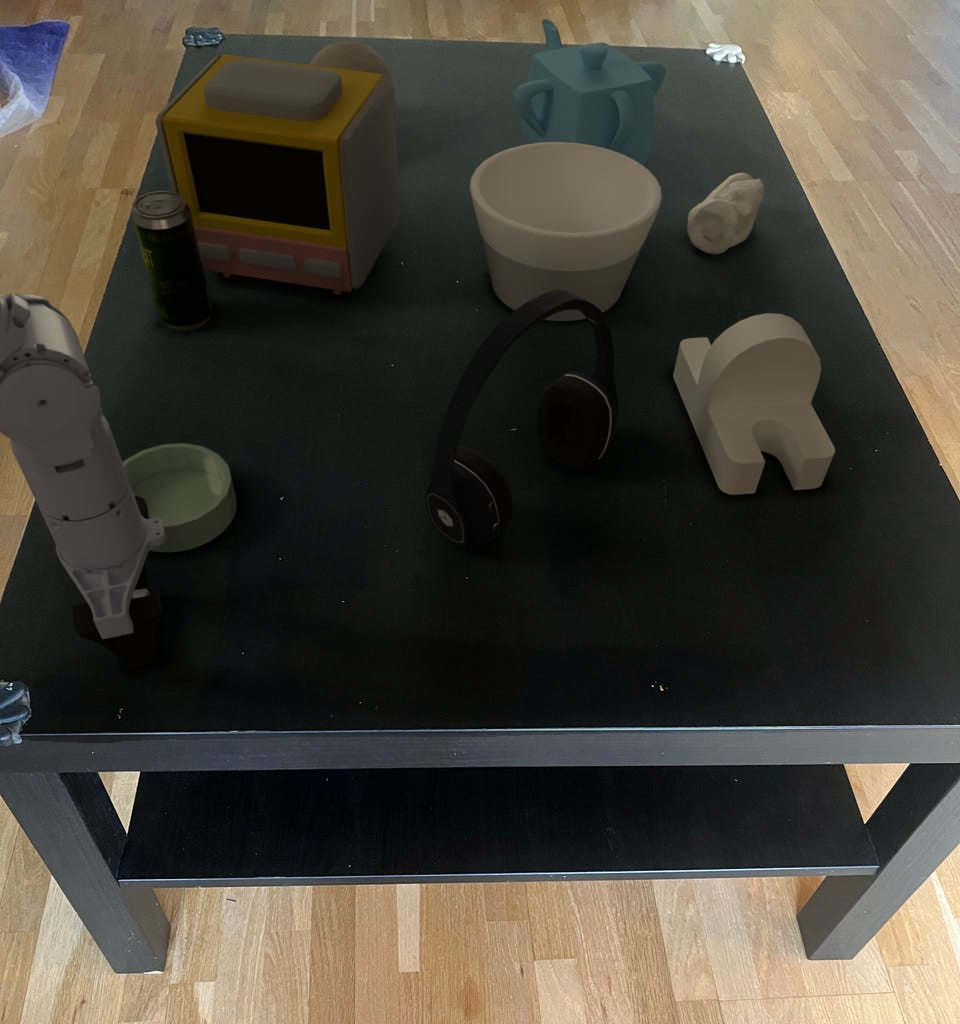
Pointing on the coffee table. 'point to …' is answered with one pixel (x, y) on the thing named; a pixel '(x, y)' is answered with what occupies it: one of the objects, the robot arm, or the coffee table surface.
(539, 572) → the coffee table surface
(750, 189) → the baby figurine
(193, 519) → the celadon bowl
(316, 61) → the seashell
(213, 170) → the alarm clock
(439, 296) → the coffee table surface
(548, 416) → the earphone
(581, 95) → the teapot
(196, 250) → the beer can
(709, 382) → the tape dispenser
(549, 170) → the bowl
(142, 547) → the robot arm
